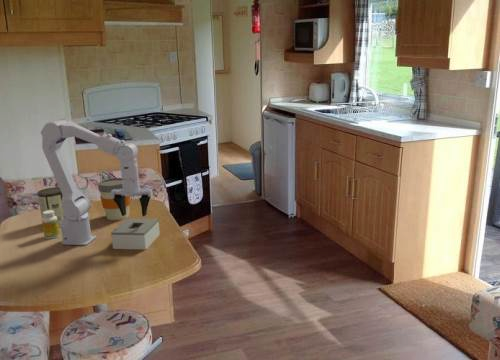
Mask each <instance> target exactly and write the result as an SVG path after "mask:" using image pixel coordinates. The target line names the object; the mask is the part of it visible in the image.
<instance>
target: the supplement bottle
mask: <svg viewBox="0 0 500 360" xmlns="http://www.w3.org/2000/svg"><path fill="white" fill-rule="evenodd" d="M54 215H55V214H54V211H53V210H48V211H44V212H43V217H44V218H42V217H41V224H42V231H43V238H44V239H48V240H49V239H51V240H52V239H56V238H58V237H59V236H60V235H61V233H60V227H59V226H58V220H57V217H56V216H54Z"/></svg>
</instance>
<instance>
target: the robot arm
mask: <svg viewBox="0 0 500 360" xmlns="http://www.w3.org/2000/svg"><path fill="white" fill-rule="evenodd" d="M40 135H41V138H42V139H41V141H42V143H41V144H42V145H41V149H42V151H43V153H44V155H45V158H46V160H47V163H48V165H49V167H50V169H51V172H52V174H53V176H54V179H55V181H56V183H57V187H59V188H60V190H61V193H62V195H63V197H62V201H61V204H62V207H63V215H64V217H65V218H64V219H63V220H62V222H61V227H60V231H61V235H62V236H61V238H62V242H61V245H63V246H64V245H69V246H70V245H72V246H74V245H75V246H87V245H89V244H90V243H91V242H92V241H93V240H95V239H96V238H97V235H92V231H91V225H90V215H89V211H90V209H91V206H92V205H91V202H90V200H89V198H87V197H86V195H85V194H84V192H82V191H81V190H79V188H78V187H77V184H76V182H75V180H74V178H73V175H72V173H71V169H70V168H69V166H68V164H67V161H66V158H65V157H64V153H63V152H62V150H61V148H62V146H63V144H64V142H65V141H66V139H68V138H77V139H80V140H83V141H86V142H89V143H91V144H94V145H96V146H97V148H98V150H100V151H101V152H104V153H107V154H109V155H112V156H114V157H116V158H117V160H118V161H119V165H120V167H119V168H120V174H121V178H122V185H123V189H113V190H112V191H111V196H115V197H114V198H113V200H114V201H115V203H116V204H117V205H118V207H119V209H120V212H121V214H122V216H124V215H126V206H125V196H130V197H133V196H134V197H135V196H136V197H137V196H138V197H139V198H138V200H139V202H140V203H139V204H140V207H141V215H142V216H141V217H146V216H147V211H148V206H149V203H150V201H151V197H152V196H153V195H154V194H153V193H154V192H153V189H150V188H149V189H148V188H141V187H140V186H141V185H140V179H139V168H138V160H137V159H138V158H137V156H138V154H139V147H138V146H137V145H136V144H135V143H134V142H133V141H127V142H126V141H125V140H124V139H118V138H117V137H113V134H111V133H108V134H107V133H105V134H101V135H100V134H98V133H96V132H94V131H92V130H90V129H88V128H85V127H83V126H81V125H80V124H77V123H76V122H74V121H72V120H69V119H66V118H61V119H58V120H56V121H50V122H46V123H45V124H44V126H43V127H42V129H41V131H40ZM140 196H141V197H140Z"/></svg>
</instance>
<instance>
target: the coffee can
mask: <svg viewBox="0 0 500 360" xmlns="http://www.w3.org/2000/svg"><path fill="white" fill-rule="evenodd" d="M36 193H37V197H38V203H39V209H40V210H39V211H40V214H41V219H42V218H44V217H43V212H44V211H48V210H53V211H54V214H55V215H54V216H56V217H57V220H58V226H59V228H61V222H62V220H63V219H64V218H65V217H64V215H63V207H62V204H61V201H62V197H63V195H62V193H61V190H60V188H59V186H55V187H48V188H43V189H40V190H38V191H37V192H36Z"/></svg>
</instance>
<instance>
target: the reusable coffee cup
mask: <svg viewBox="0 0 500 360" xmlns="http://www.w3.org/2000/svg"><path fill="white" fill-rule="evenodd" d="M113 189H123V185H122V177H115V178H106V179H103V180H101V181H99V182H98V192H99V193H100V197H99V198H100V201H101V204H102V205H101V206H102V208H103V209H104V212H105V216H106V219H107V220H109V221H121V220H123V219H124V220H125V219H128V217H129V216H130V205H131V196H125V206H126V215H124V216H122V214H121V212H120V209H119V207H118V205H117V204H116V203H115V201H114V200H113V198H114V197H115V196H111V191H112V190H113Z"/></svg>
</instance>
